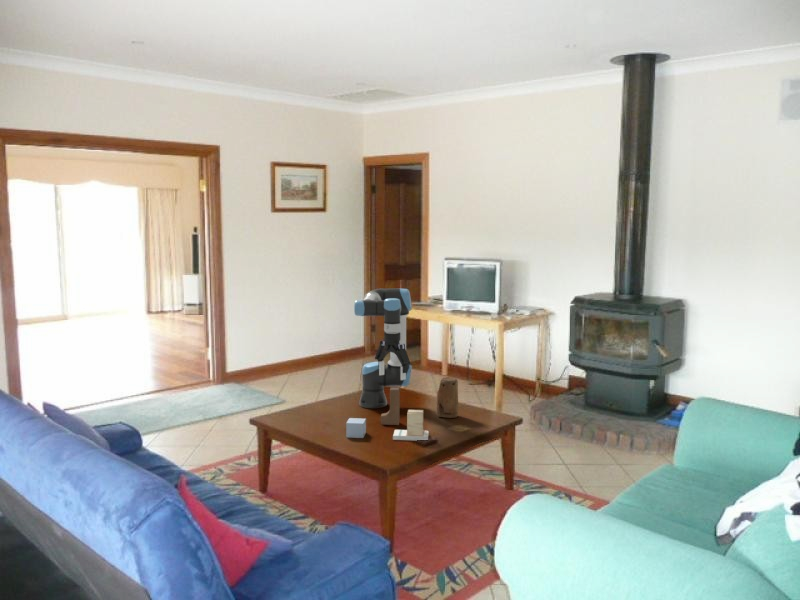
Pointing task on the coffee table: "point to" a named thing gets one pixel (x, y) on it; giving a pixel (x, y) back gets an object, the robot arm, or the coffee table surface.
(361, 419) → the slate block
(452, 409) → the block
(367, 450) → the coffee table surface
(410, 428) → the beige box
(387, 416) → the wooden block
